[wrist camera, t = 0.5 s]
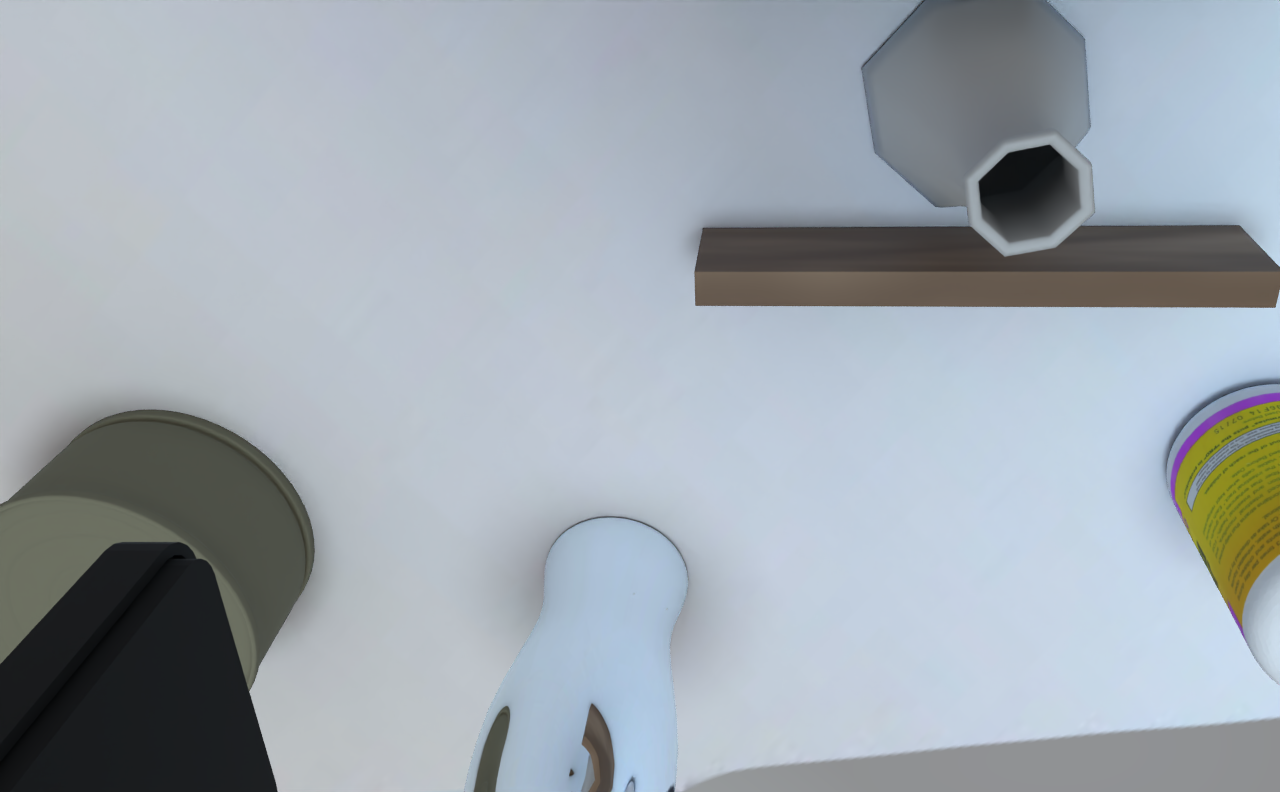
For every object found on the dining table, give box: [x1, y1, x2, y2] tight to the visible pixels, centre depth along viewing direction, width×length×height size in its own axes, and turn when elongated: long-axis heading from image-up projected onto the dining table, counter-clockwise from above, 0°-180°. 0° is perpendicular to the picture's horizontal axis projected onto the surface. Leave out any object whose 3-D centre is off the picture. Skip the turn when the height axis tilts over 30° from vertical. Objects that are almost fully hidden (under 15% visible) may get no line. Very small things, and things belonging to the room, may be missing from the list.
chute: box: [695, 226, 1280, 308], centre depth 36 cm, size 11×18×4 cm, turn 93°
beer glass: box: [464, 517, 688, 792], centre depth 42 cm, size 7×7×15 cm
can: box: [0, 410, 314, 691], centre depth 47 cm, size 12×12×7 cm
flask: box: [862, 0, 1095, 257], centre depth 33 cm, size 7×7×10 cm
